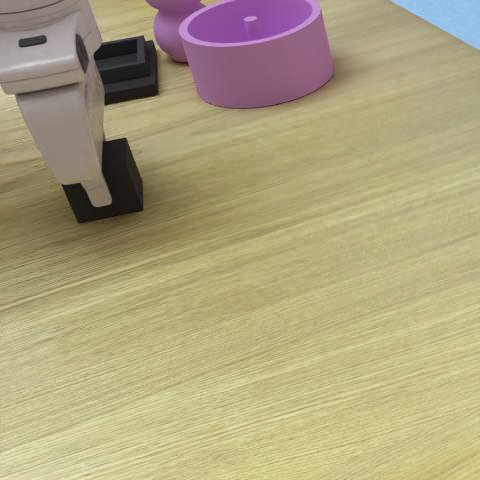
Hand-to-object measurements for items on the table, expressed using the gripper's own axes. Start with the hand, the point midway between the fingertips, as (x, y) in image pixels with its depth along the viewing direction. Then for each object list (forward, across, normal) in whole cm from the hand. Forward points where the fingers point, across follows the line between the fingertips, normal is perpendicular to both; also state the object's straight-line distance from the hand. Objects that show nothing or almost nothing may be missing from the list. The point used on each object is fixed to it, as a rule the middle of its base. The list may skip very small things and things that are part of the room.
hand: (104, 185), depth 98 cm
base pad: (+2, -31, 0) cm, 31 cm away
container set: (+2, -27, +14) cm, 31 cm away
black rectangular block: (+2, 0, 0) cm, 2 cm away
